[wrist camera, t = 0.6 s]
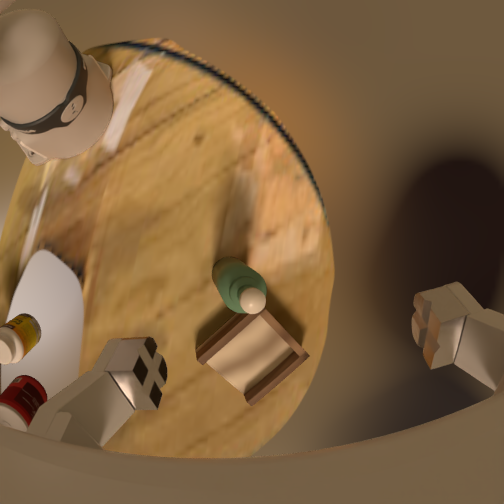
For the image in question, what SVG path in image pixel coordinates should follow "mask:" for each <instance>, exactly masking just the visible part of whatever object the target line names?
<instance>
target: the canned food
mask: <svg viewBox="0 0 504 504" xmlns="http://www.w3.org/2000/svg"><path fill="white" fill-rule="evenodd" d="M45 402H47V394H46V391H45V389H44V387H43V386H42V385H41V384H40V383H39V382H38V381H37V380H36V379H35V378H33V377H31V376H27V375H21V376H18V377H16V378H15V379H14V380H13V381H12V383H11V384H10V385H9V386H8V387H7V389H5V391H4V392H3V393H2V394H1V395H0V424H2V425H5V426H8V427H11V428H14V429H17V430H20V431H23V432H26V431H27V429H28V427H29V425H30V423H31V422H32V420H33V418H34V416H35V414H36V412H37V411H38V409H39V407H40V406H41V405H43V404H44V403H45Z"/></svg>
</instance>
